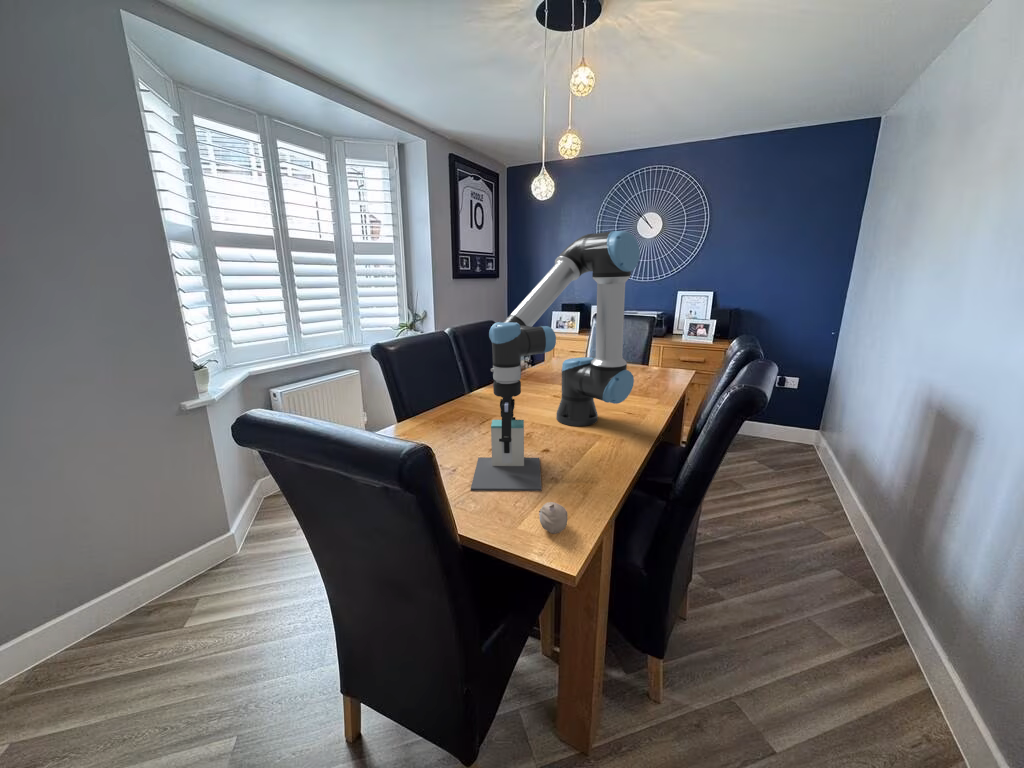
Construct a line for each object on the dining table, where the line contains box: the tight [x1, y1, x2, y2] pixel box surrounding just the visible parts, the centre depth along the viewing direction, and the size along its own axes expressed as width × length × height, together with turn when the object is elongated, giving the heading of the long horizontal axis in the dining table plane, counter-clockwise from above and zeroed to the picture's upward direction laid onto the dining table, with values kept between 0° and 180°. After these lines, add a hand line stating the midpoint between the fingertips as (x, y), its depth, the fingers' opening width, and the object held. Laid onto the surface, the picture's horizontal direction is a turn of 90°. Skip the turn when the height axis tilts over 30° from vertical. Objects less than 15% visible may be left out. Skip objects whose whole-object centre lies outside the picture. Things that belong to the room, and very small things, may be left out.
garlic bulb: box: [538, 501, 569, 535], centre depth 88 cm, size 7×6×8 cm
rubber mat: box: [470, 456, 543, 492], centre depth 113 cm, size 18×18×1 cm
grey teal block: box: [490, 419, 525, 466], centre depth 117 cm, size 9×5×12 cm, turn 88°
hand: (508, 452), depth 118 cm, fingers open, 13 cm apart
